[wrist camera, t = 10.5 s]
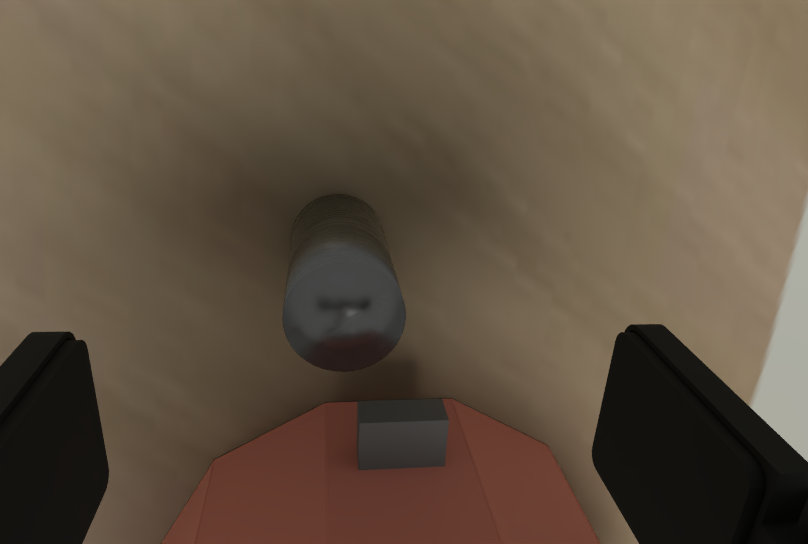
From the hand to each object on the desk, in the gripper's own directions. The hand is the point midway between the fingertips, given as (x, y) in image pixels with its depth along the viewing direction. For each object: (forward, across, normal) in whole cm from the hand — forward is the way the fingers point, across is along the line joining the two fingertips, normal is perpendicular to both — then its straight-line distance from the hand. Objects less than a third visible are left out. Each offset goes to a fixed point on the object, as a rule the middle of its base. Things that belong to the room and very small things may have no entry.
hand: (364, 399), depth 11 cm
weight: (+10, 0, +1) cm, 10 cm away
